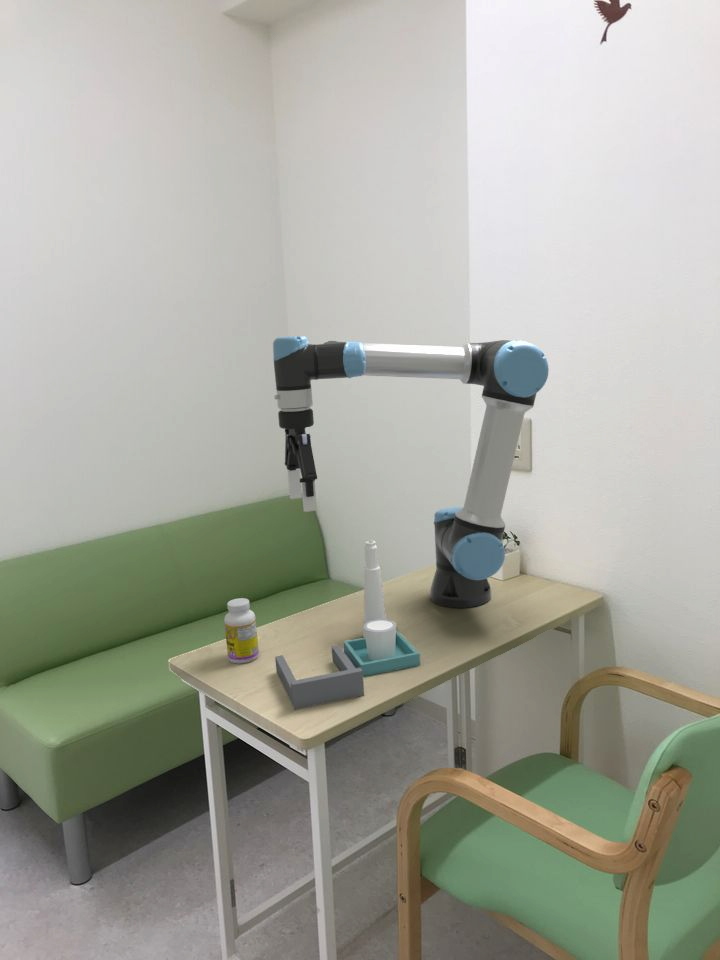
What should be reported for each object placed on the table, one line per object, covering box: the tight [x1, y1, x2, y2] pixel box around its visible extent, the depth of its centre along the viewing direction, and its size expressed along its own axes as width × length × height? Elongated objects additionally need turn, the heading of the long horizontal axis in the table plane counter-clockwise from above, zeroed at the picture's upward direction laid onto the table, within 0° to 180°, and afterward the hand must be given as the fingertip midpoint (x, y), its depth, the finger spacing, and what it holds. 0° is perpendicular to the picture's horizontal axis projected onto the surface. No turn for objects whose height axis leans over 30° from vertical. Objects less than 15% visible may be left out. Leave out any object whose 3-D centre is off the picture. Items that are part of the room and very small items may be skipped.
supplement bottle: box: [223, 597, 260, 664], centre depth 164 cm, size 7×7×13 cm
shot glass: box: [363, 618, 397, 661], centre depth 161 cm, size 7×7×7 cm
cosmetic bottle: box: [362, 540, 387, 638], centre depth 171 cm, size 6×6×22 cm
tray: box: [342, 630, 421, 677], centre depth 161 cm, size 13×13×2 cm
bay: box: [274, 644, 365, 710], centre depth 151 cm, size 17×14×5 cm
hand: (302, 504), depth 170 cm, fingers open, 13 cm apart
